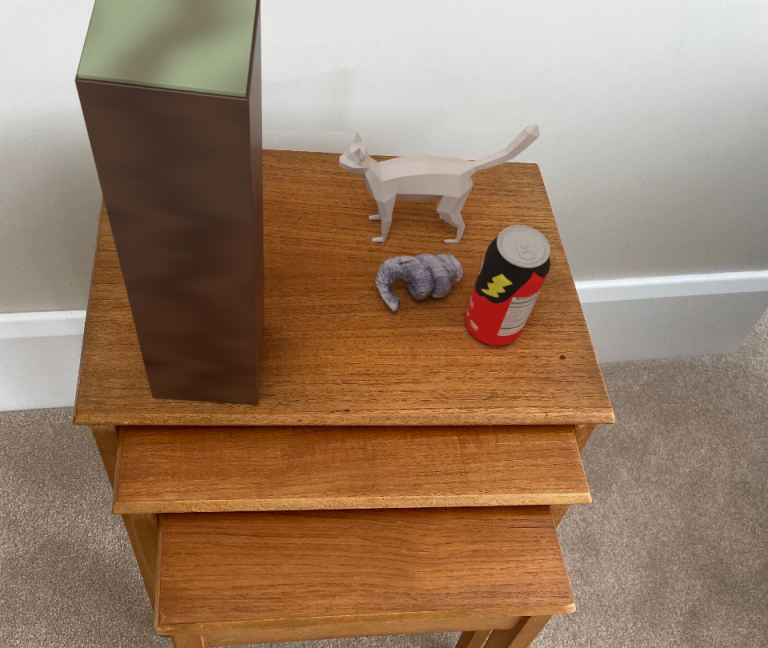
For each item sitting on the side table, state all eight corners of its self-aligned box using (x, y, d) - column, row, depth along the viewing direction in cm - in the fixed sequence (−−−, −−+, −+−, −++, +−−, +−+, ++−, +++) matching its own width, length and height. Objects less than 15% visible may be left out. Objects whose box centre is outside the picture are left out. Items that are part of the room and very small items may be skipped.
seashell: (376, 315, 84) (454, 291, 87) (396, 312, 79) (479, 286, 82) (362, 265, 82) (443, 242, 86) (382, 258, 78) (467, 234, 81)
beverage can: (508, 300, 86) (542, 216, 75) (528, 346, 83) (566, 267, 73) (455, 307, 84) (482, 223, 73) (473, 355, 82) (504, 275, 71)
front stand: (152, 398, 75) (72, 75, 45) (164, 315, 79) (100, -30, 49) (257, 405, 76) (248, 95, 46) (264, 323, 80) (260, -9, 50)
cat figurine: (331, 214, 88) (341, 102, 75) (501, 216, 91) (538, 108, 78) (334, 244, 86) (345, 134, 73) (508, 245, 89) (547, 140, 77)
